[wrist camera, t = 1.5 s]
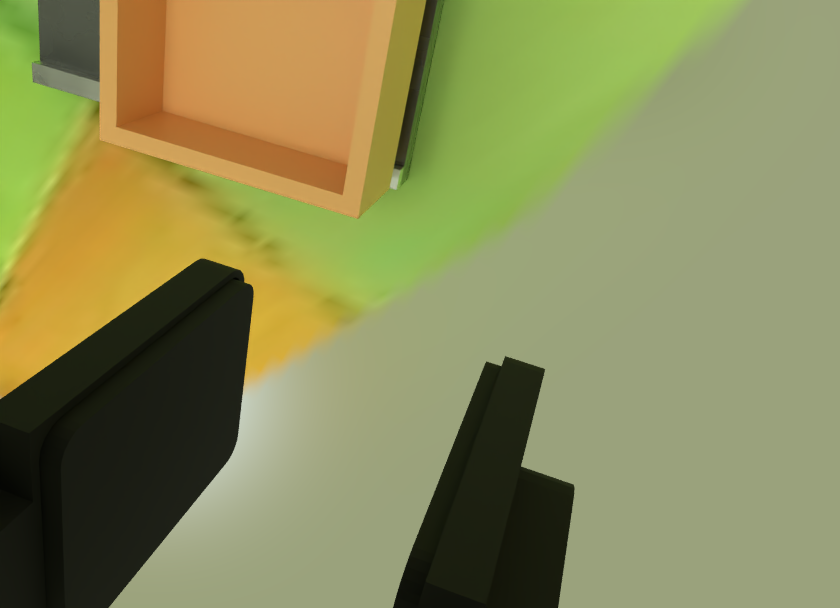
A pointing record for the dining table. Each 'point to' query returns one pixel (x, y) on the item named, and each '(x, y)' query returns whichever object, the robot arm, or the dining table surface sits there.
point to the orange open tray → (263, 90)
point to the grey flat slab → (80, 62)
